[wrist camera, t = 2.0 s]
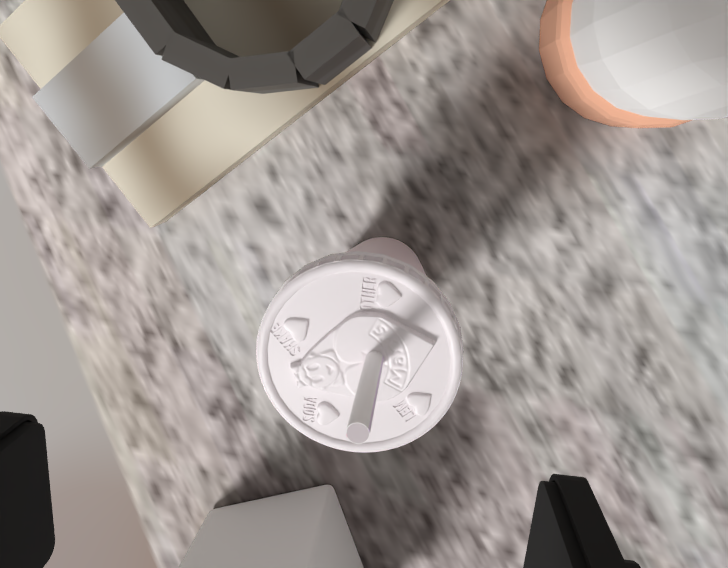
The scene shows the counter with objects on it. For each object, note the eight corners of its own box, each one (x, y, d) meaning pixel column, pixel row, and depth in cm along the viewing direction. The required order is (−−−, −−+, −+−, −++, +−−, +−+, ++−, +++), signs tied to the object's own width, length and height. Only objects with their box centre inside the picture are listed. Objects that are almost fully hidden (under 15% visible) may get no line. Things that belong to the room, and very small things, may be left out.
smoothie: (468, 323, 27) (505, 529, 14) (336, 355, 28) (252, 573, 15) (432, 189, 26) (434, 272, 12) (294, 228, 27) (158, 344, 13)
